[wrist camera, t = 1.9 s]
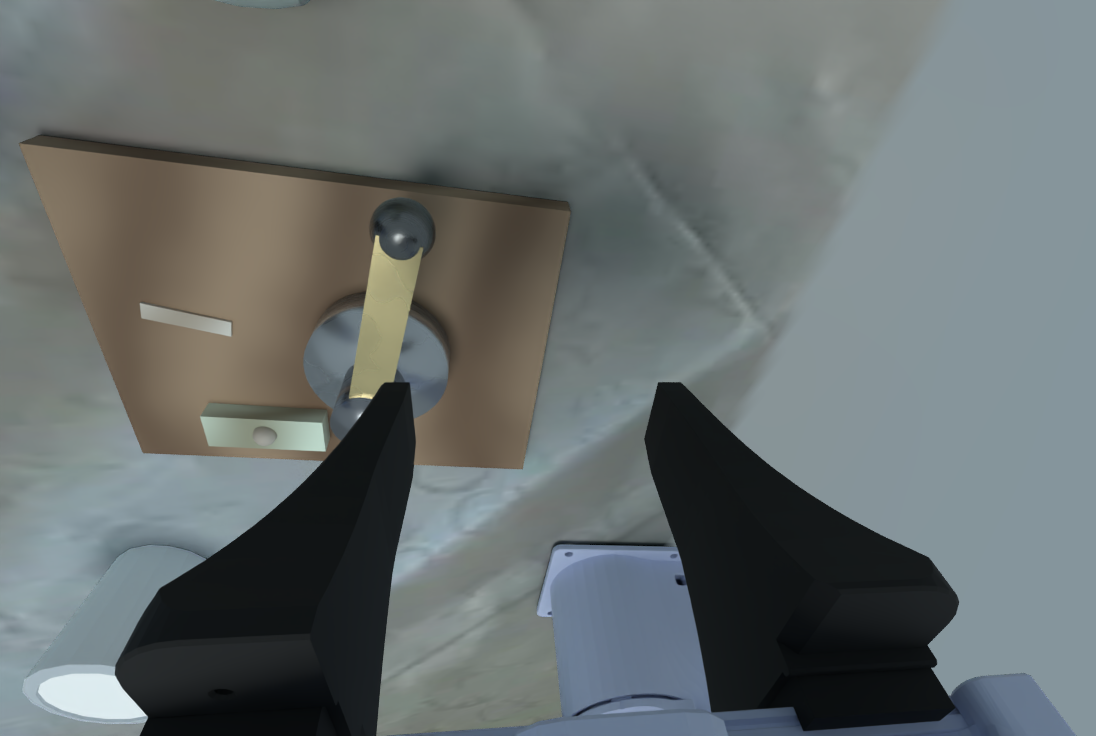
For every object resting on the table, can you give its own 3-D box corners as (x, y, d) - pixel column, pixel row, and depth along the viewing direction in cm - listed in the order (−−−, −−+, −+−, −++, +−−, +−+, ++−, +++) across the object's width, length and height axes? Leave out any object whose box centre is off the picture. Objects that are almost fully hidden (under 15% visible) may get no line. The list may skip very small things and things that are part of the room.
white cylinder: (234, 548, 32) (180, 673, 26) (227, 609, 35) (178, 730, 30) (98, 529, 30) (9, 660, 24) (106, 595, 33) (29, 722, 28)
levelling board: (567, 202, 21) (575, 226, 19) (521, 455, 29) (523, 490, 27) (39, 135, 18) (-15, 155, 16) (153, 438, 26) (126, 475, 24)
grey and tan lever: (435, 410, 25) (427, 477, 22) (308, 385, 24) (280, 453, 20) (497, 193, 19) (500, 239, 16) (334, 143, 18) (300, 183, 15)
